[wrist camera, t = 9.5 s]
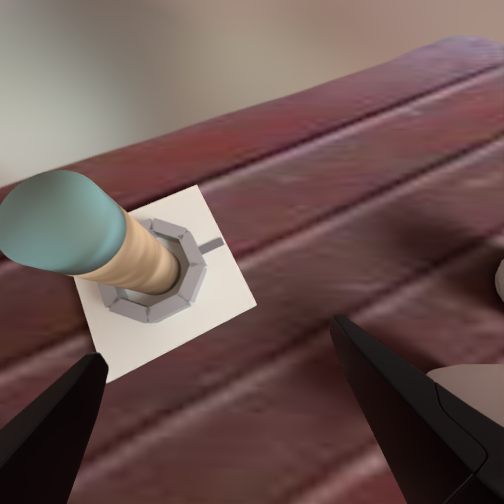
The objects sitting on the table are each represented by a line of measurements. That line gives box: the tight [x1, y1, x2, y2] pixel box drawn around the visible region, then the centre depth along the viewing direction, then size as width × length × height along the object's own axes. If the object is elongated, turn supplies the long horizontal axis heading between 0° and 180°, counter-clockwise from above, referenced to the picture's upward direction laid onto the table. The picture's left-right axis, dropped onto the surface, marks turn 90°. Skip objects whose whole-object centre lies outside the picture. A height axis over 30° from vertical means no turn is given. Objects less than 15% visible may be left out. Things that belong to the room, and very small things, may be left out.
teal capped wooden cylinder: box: [0, 170, 181, 295], centre depth 16 cm, size 4×4×12 cm
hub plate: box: [74, 185, 257, 383], centre depth 21 cm, size 14×14×3 cm
